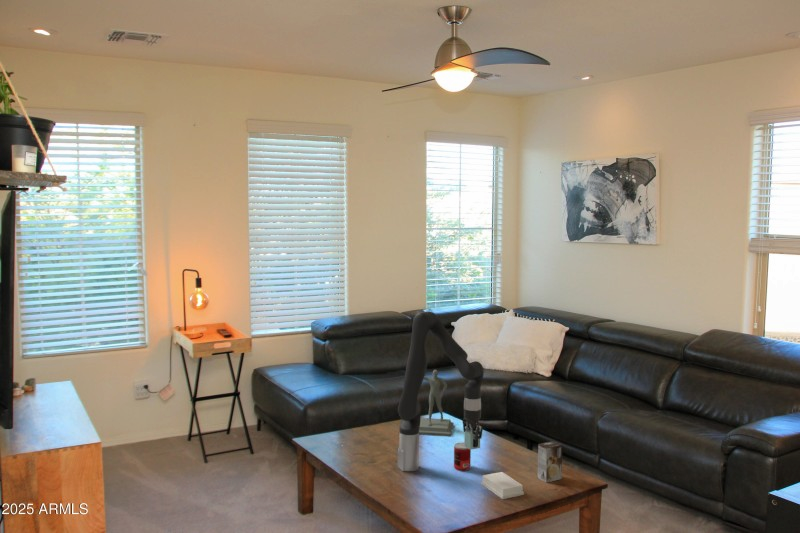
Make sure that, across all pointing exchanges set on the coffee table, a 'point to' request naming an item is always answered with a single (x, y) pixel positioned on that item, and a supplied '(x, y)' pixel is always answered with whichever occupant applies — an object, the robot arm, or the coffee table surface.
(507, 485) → the plinth
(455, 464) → the canned food
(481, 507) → the coffee table surface
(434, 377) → the statue
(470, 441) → the block
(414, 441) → the robot arm
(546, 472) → the coffee box
